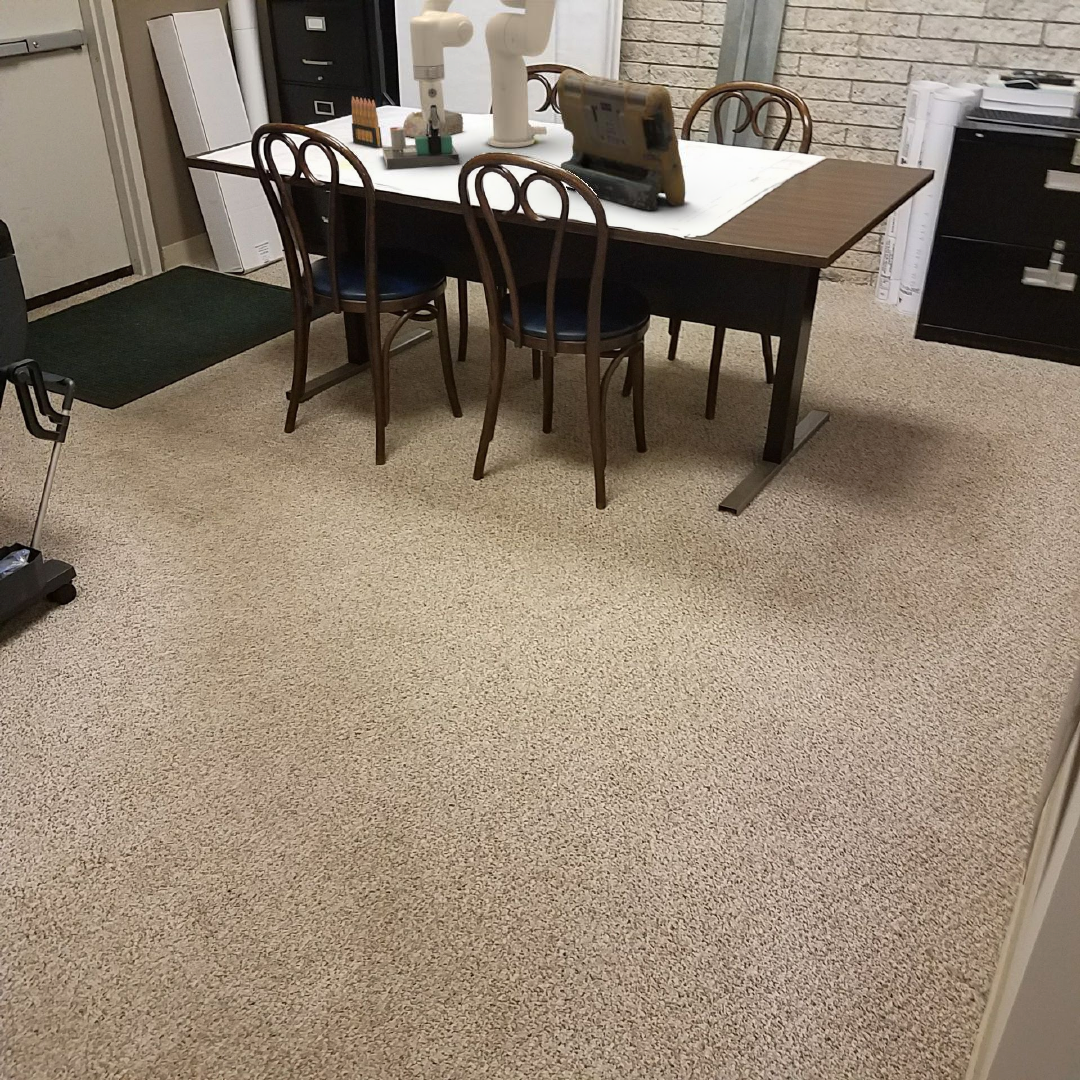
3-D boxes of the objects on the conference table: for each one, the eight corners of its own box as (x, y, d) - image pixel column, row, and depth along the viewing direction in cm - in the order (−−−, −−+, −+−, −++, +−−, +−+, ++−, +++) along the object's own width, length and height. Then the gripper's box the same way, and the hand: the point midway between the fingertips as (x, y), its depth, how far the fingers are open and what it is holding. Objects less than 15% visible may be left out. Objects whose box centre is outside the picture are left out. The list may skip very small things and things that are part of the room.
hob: (451, 152, 279) (451, 141, 277) (459, 164, 267) (458, 153, 266) (383, 157, 276) (382, 146, 274) (387, 169, 264) (386, 158, 263)
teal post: (453, 153, 267) (452, 137, 265) (404, 156, 265) (403, 140, 263) (450, 149, 270) (450, 134, 268) (403, 153, 268) (401, 137, 266)
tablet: (696, 201, 233) (703, 78, 219) (655, 214, 225) (659, 87, 211) (588, 177, 253) (588, 63, 239) (547, 188, 245) (544, 71, 231)
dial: (405, 147, 273) (403, 125, 271) (406, 150, 270) (404, 128, 268) (391, 147, 273) (389, 126, 270) (392, 151, 270) (390, 129, 267)
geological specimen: (465, 112, 298) (426, 118, 288) (465, 135, 301) (426, 141, 291) (438, 107, 304) (399, 112, 294) (438, 129, 307) (400, 135, 297)
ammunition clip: (382, 146, 286) (377, 99, 279) (377, 148, 285) (372, 100, 278) (358, 141, 292) (353, 95, 286) (353, 142, 291) (347, 96, 285)
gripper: (448, 77, 251) (453, 157, 261) (440, 67, 265) (445, 144, 275) (417, 78, 250) (423, 159, 260) (410, 68, 264) (416, 145, 274)
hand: (434, 150), depth 267 cm, fingers closed on teal post, 3 cm apart
